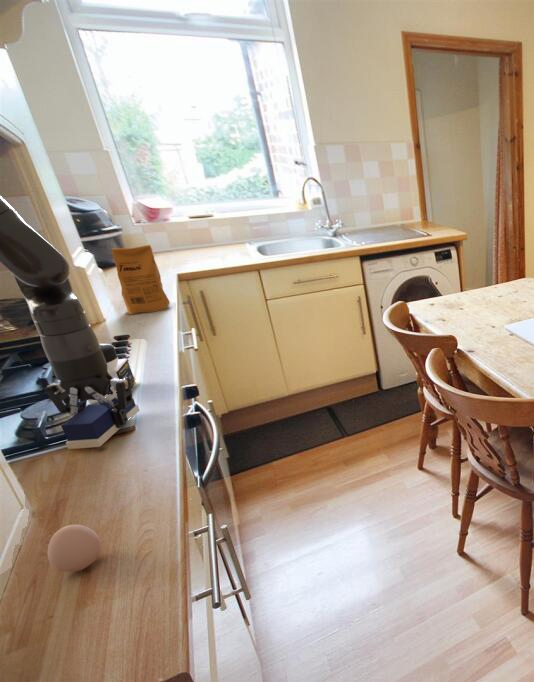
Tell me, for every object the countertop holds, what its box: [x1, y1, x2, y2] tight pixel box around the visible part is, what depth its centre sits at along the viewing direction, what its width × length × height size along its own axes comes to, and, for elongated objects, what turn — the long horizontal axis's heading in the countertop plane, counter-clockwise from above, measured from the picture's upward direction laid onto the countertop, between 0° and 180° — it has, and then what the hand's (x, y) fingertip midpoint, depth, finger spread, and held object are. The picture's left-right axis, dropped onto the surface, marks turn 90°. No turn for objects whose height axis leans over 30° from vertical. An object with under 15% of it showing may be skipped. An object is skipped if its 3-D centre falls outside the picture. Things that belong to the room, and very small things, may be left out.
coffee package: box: [111, 244, 171, 315], centre depth 159 cm, size 10×12×22 cm
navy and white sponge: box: [60, 398, 140, 450], centre depth 93 cm, size 13×5×5 cm, turn 8°
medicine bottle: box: [87, 343, 137, 404], centre depth 106 cm, size 7×7×12 cm
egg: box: [46, 524, 102, 573], centre depth 63 cm, size 5×5×7 cm
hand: (105, 426), depth 94 cm, fingers closed on navy and white sponge, 5 cm apart
